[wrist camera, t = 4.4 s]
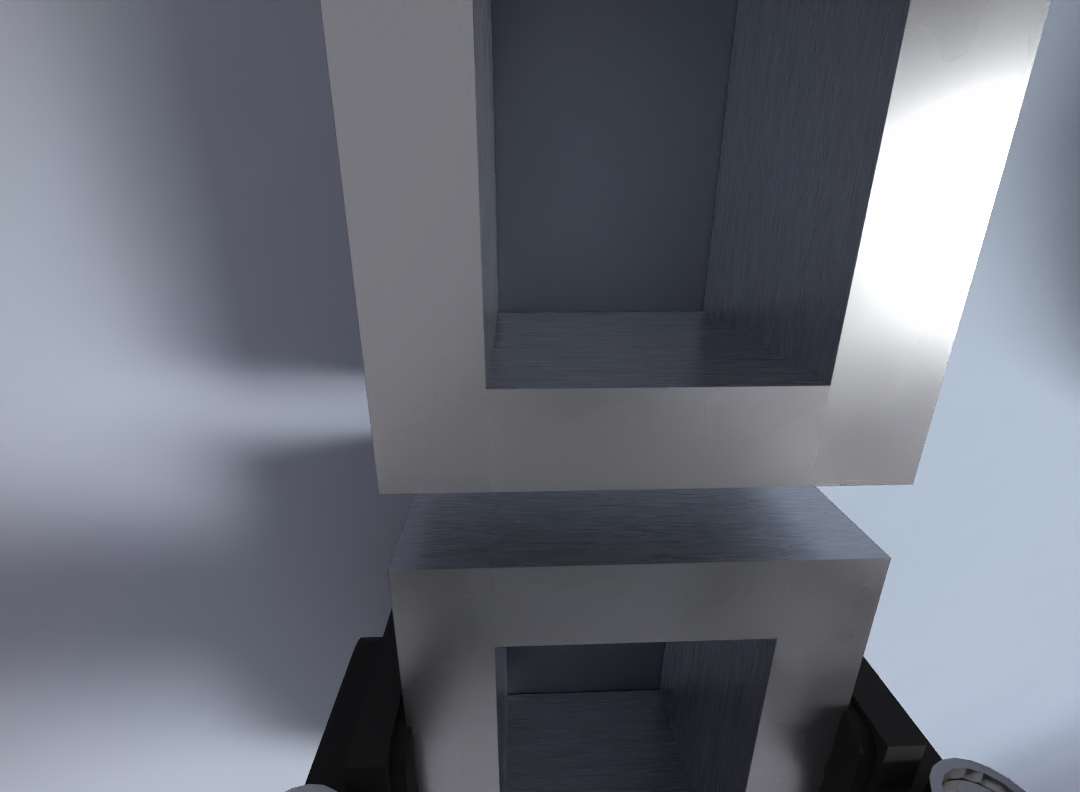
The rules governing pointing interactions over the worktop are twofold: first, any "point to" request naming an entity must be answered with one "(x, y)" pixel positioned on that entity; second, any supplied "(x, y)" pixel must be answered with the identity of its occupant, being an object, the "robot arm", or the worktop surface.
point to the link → (632, 636)
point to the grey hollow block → (733, 268)
